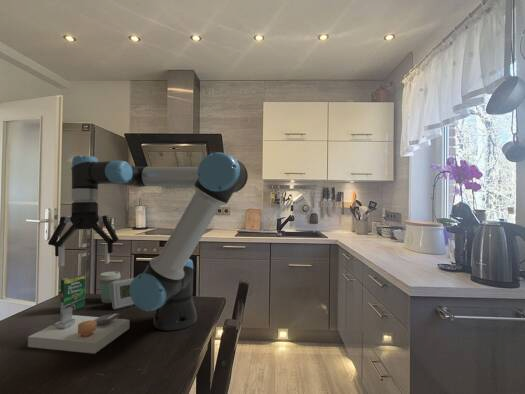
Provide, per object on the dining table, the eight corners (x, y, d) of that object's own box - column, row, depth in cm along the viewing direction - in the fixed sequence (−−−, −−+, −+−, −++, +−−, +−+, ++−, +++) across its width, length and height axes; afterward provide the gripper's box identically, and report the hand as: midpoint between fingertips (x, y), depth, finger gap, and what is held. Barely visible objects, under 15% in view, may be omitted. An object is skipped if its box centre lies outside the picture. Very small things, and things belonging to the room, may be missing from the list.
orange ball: (99, 337, 85) (100, 320, 85) (87, 345, 80) (88, 327, 80) (85, 335, 85) (86, 319, 85) (73, 343, 80) (73, 326, 81)
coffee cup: (110, 305, 115) (111, 276, 115) (93, 303, 116) (94, 275, 117) (124, 298, 123) (125, 271, 123) (108, 296, 125) (109, 270, 125)
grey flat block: (119, 315, 93) (119, 312, 93) (109, 322, 88) (108, 318, 88) (102, 318, 93) (102, 315, 93) (91, 324, 88) (91, 321, 88)
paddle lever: (75, 322, 90) (75, 307, 90) (64, 328, 86) (65, 311, 86) (67, 322, 90) (67, 306, 90) (56, 327, 86) (57, 311, 86)
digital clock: (111, 311, 108) (111, 284, 108) (108, 304, 116) (109, 279, 116) (153, 303, 117) (154, 278, 118) (149, 297, 125) (149, 274, 125)
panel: (129, 328, 94) (129, 318, 94) (94, 353, 78) (95, 341, 78) (72, 323, 96) (72, 313, 97) (27, 346, 81) (28, 334, 81)
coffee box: (62, 314, 104) (63, 279, 105) (59, 312, 106) (60, 278, 106) (85, 307, 111) (86, 275, 112) (81, 306, 113) (82, 274, 113)
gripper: (127, 201, 99) (127, 259, 99) (47, 202, 93) (46, 265, 92) (122, 201, 92) (122, 264, 91) (35, 202, 85) (34, 269, 85)
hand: (84, 264), depth 92 cm, fingers open, 13 cm apart
